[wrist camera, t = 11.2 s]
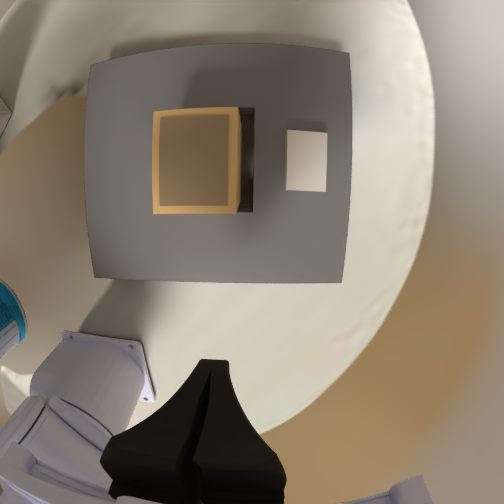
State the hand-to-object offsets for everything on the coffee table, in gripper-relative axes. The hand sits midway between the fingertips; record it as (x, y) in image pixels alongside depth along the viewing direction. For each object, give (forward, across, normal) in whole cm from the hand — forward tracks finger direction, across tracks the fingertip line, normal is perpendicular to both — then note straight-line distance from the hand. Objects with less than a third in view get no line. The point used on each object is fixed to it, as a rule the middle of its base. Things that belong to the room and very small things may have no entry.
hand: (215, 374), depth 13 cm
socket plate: (+9, +1, -10) cm, 14 cm away
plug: (+10, +1, -10) cm, 14 cm away
